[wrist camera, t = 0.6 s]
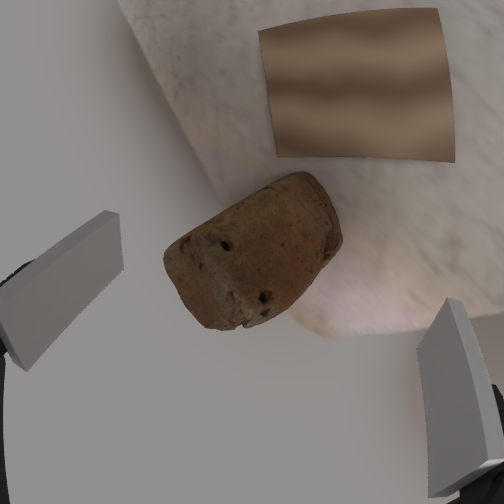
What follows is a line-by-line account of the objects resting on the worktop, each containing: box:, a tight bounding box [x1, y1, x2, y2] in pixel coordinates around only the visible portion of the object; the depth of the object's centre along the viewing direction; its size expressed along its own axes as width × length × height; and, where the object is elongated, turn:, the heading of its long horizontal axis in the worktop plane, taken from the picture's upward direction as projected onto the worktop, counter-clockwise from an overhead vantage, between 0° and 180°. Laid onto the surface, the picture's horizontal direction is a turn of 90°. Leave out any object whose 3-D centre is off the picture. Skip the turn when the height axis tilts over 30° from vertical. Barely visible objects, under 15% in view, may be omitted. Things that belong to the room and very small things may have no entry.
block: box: [163, 172, 343, 331], centre depth 31 cm, size 11×8×20 cm
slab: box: [258, 8, 455, 163], centre depth 26 cm, size 14×18×5 cm
